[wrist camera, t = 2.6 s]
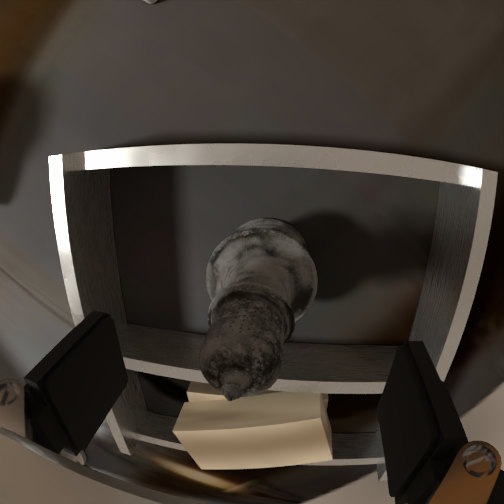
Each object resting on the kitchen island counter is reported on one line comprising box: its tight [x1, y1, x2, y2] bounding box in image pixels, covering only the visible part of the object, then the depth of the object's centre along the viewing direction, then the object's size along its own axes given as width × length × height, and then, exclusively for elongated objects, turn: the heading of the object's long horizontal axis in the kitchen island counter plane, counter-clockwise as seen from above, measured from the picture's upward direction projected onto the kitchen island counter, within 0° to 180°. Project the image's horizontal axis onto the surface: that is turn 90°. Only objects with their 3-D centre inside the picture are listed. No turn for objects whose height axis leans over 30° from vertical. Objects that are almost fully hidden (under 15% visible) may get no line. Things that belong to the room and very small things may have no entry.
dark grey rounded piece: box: [199, 218, 318, 401], centre depth 14 cm, size 6×6×12 cm
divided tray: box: [49, 143, 498, 481], centre depth 19 cm, size 24×23×5 cm
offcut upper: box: [173, 391, 333, 470], centre depth 20 cm, size 5×10×3 cm, turn 108°
